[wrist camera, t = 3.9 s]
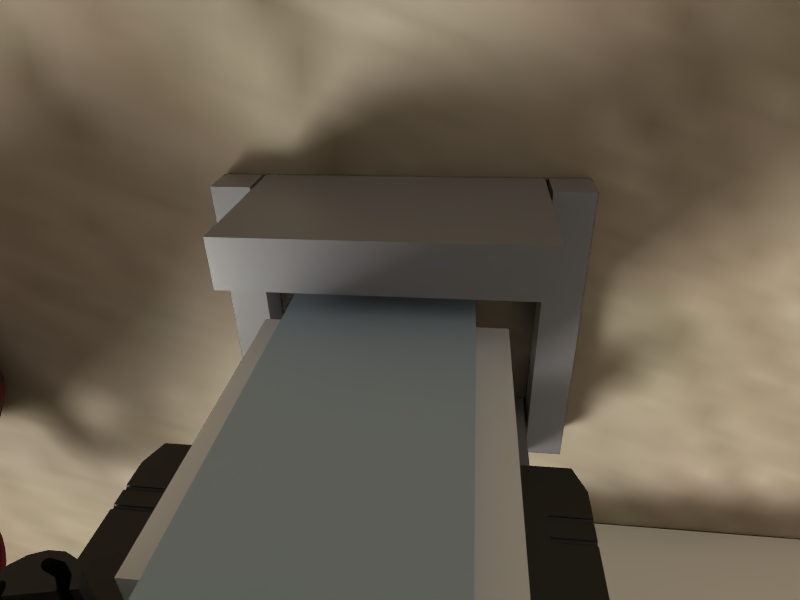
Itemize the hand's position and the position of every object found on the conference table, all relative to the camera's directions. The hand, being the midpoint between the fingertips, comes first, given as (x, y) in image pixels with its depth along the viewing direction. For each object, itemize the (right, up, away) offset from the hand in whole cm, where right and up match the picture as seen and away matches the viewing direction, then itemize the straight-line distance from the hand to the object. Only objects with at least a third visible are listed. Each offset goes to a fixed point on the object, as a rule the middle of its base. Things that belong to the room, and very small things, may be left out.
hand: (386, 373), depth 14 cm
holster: (0, +1, +3) cm, 3 cm away
